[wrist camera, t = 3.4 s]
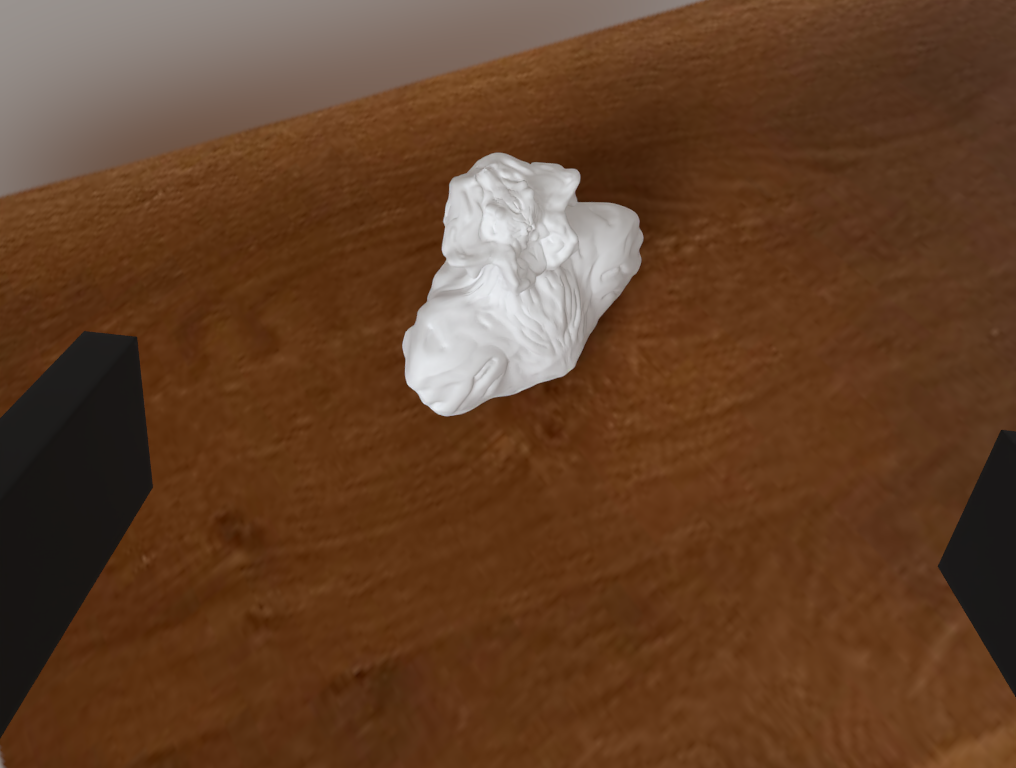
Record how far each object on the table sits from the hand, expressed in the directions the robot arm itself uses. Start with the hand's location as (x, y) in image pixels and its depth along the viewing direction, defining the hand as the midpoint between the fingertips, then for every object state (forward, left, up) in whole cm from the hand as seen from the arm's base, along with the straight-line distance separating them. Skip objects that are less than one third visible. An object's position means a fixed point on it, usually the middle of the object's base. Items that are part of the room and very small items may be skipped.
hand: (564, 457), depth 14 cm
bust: (-5, +9, -25) cm, 27 cm away
